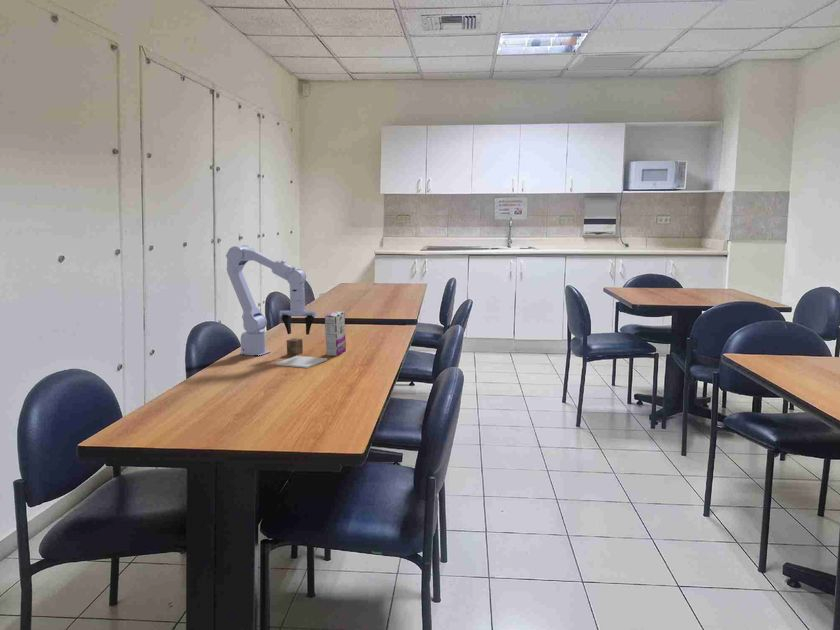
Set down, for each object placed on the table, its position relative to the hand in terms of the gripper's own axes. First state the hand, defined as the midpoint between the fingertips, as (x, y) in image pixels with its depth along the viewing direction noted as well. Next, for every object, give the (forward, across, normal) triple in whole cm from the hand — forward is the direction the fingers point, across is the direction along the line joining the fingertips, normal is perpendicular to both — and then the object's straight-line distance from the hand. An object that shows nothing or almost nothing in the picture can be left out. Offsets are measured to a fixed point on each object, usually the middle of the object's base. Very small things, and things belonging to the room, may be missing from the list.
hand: (298, 334), depth 254 cm
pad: (+9, +5, -12) cm, 16 cm away
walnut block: (+9, -2, +2) cm, 9 cm away
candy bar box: (+9, +14, +5) cm, 17 cm away
